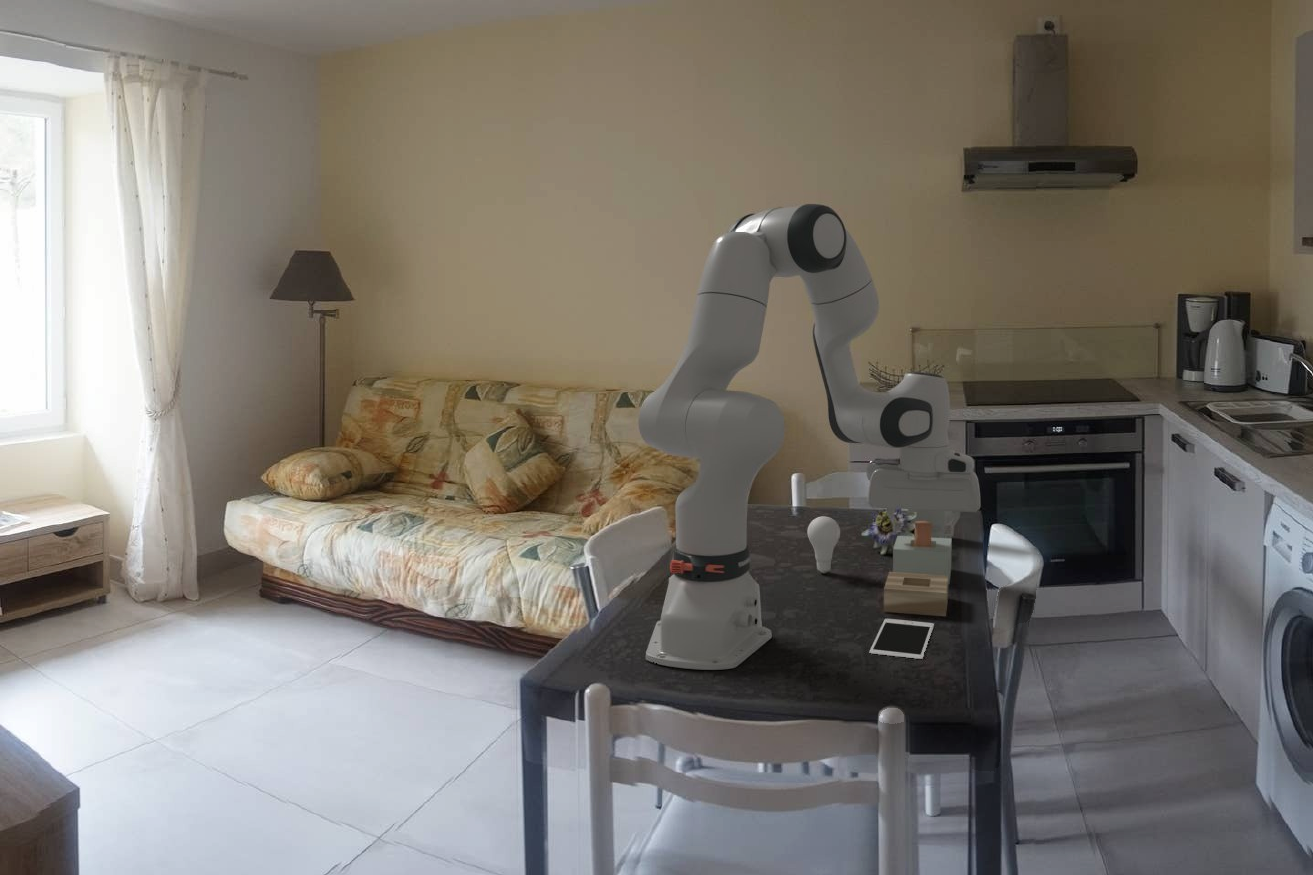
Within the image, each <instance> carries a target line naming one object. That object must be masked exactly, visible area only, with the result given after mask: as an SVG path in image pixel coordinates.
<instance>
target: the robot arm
mask: <svg viewBox="0 0 1313 875" xmlns="http://www.w3.org/2000/svg"><path fill="white" fill-rule="evenodd" d="M797 276H799V277H800V278H801V279H802V283H803V286H804V289H805V292H806V295H807V299H808V301H809V303H810V307H811V309H812V312H813V318H814V323H813V327H812V338H813V339H812V340H813V345H814V349H815V354H816V359H817V362H818V366H819V371H820V374H821V378H822V381H823V385H824V388H825V393H826V397H827V398H826V400H827V414H828V415H827V416H828V421H829V422H828V423H829V426H830V429H831V431H832V433H833V435H835V437H836V438H837V439H838V440H840V441H841V442H844V443H848V444H849V443H850V444H865V445H869V446H870V445H871V446H876V447H885V448H889V449H890V448H891V449H898V448H899V458H878V457H877V458H875V459H874V460H871V461H869V463H868V464H867V465H866V477H867V480H868V481H869V483H868V491H867V503H868V505H869V506H870V507H871V508H872V509H873V508H874V509H886V510H887V515H888V517H889V519H890V520H891V522H892V523H893V532H901V521H897V520H896V518H895V516H894V513H895V509H902V510H908V509H913V510H936V511H952V517H953V520H952V521H951V523H950V524H948V523H946V525H945V529H946V530H945V534H947V535H953V536H954V529H955V526H956V524H957V522H958V521H959V519H960V518H961V512H965V513H977V512H978V511H979V510H980V509H981V491H980V490H981V489H980V483H979V478H978V476H977V474H976V472H975V471H974V469H975V460H974V458H973V457H972V456H970V455H967V454H965V453H961V452H957V451H954V450H951V449H950V439H949V436H948V435H949V434H948V428H949V424H950V421H951V399H950V398H951V397H950V390H949V389H950V388H949V385H948V383H947V379H946V378H945V377H943V376H942V375H939V374H937V373H929V372H927V373H926V372H921V371H908V372H906V373H905V374H904V376H903V379H902V380H901V381H900V382H899V383H898V384H897V385H896V386H895V387H893V388H891V389H890V390H887V391H886V392H877V391H871V390H868V389H866V388H864V386H862V385H861V384H860V383H859V380H858V378H857V373H856V368H855V365H854V361H853V358H852V357H853V356H852V352H851V343H852V341H853V340H855V339H857V338H858V337H860V336H861V335H863V334H864V333H866V332H867V331H868V330H869V329H870V328H871V327H872V326H873V325H874V322H875V321H876V319H877V317H878V315H879V311H880V303H879V300H880V299H879V296H878V292H877V288H876V286H875V282H874V280H873V278H872V274H871V272H870V269H869V267H868V264H867V263H866V260H865V258H864V256H863V253H862V251H861V250H860V248H859V247H858V245H857V242H856V241H855V239H854V238H853V236H852V234H851V233H850V232H849V230H847V229H846V227H845V224H844V222H843V220H842V219H841V217H840V216H839V214H838V213H837V212H836V211H835V210H834V209H833V208H831V207H829V206H828V205H824V204H816V203H806V204H803V205H799V206H798V205H797V206H795V205H794V206H786V207H785V206H784V207H783V206H780V207H779V206H778V207H777V206H776V207H775V208H774V207H773V208H770V209H767V210H763V211H760V212H757V213H749V214H747V215H744V216H742V217H740V218H738V219H737V220H736V221H734V222H733V223H732V224H731V226H730V227H729V228H728V230H727V232H726V233H723V234H721V235H720V236H718V237H717V238H716V239H715V240H714V242H713V243H712V246H711V248H710V250H709V253H708V256H707V258H706V261H705V264H704V265H703V269H702V273H701V276H700V279H699V280H700V281H699V285H698V289H697V294H696V300H695V303H694V305H695V306H694V309H693V314H692V318H691V323H690V329H689V332H688V335H687V336H688V337H687V339H686V343H685V346H684V348H683V351H682V353H681V355H680V358H679V360H678V362H677V363H676V365H675V367H674V368H673V370H672V371H671V373H670V374H669V376H668V377H667V378H666V380H664V382H663V383H662V384H661V385H660V386H659V387H657V389H656V390H654V391H653V392H651V393H650V394H648V395H647V396H646V397H645V399H644V400H643V402H642V404H641V406H640V409H639V412H638V420H637V421H638V422H637V424H638V430H639V434H640V437H641V439H642V440H643V441H644V442H645V444H647V446H649V447H650V448H653V449H654V450H655V449H656V450H658V451H660V452H662V453H665V454H667V455H670V456H674V457H681V458H689V459H696V460H699V469H698V475H697V477H696V480H695V482H694V483H693V484H691V485H689V486H688V487H686V488H685V489H683V490H682V491H681V492H680V493H679V495H678V496H677V499H676V501H675V504H674V505H675V506H674V508H675V535H676V536H675V542H676V544H675V546H674V548H673V554H672V559H671V561H670V564H669V566H670V567H669V569H670V570H669V571H670V574H672V575H670V577H668V585H667V590H666V594H665V597H664V598H665V599H664V601H663V606H662V608H661V614H660V620H658V621H657V622H656V623H655V626H654V629H653V632H652V635H651V637H650V640H649V643H648V645H647V649H646V651H645V661H648V662H650V663H653V662H654V663H653V664H656V663H657V665H661V666H666V667H671V668H672V667H673V668H678V669H688V670H689V669H690V670H691V669H692V670H702V671H703V670H704V671H705V670H709V671H711V670H712V671H713V670H714V671H716V670H720V671H721V670H729V669H735V668H736V667H738V666H739V665H740V664H742V663H743V662H744V661H745V660H746V659H748V658H749V657H750V656H752V655H753V653H755V652H756V651H758V650H759V649H760V648H761V647H762V646H763V645H765V644H766V643H767V642H769V640H771V639H772V637H773V636H772V630H771V629H769V628H767V627H766V626H763V624H762V606H761V592H760V591H761V590H760V585H759V583H758V582H757V581H756V580H755V579H754V578H753V576H752V575H751V574H750V571H749V570H750V569H751V553H750V547H749V546H750V545H748V544H747V529H748V528H747V524H748V523H747V521H748V519H747V518H748V502H749V496H750V493H751V488H752V486H753V484H754V481H755V478H756V477H757V474H758V473H759V471H760V470H761V469H762V467H763V466H764V465H765V464H766V463H767V462H769V461H771V460H772V459H773V458H774V457H775V456H776V455H777V453H778V452H779V451H780V449H781V448H782V446H783V443H784V440H785V434H786V423H785V422H786V421H785V417H784V415H783V412H782V410H781V409H780V407H779V405H778V404H777V403H776V402H775V401H773V400H772V399H769V398H767V397H764V396H761V395H758V394H755V393H751V392H748V391H741V390H740V391H739V390H727V389H728V387H729V385H730V384H731V381H732V380H733V379H734V377H735V376H736V375H737V374H738V373H739V372H740V371H742V370H743V369H744V368H747V367H748V366H750V365H751V364H752V363H754V361H755V360H756V358H757V357H758V354H759V353H760V352H759V351H760V348H761V343H762V338H763V331H764V325H765V320H766V314H767V309H768V303H769V297H770V296H769V295H770V287H771V282H772V280H773V278H778V277H779V278H793V277H797Z"/></svg>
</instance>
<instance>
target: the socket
mask: <svg viewBox="0 0 1313 875" xmlns="http://www.w3.org/2000/svg"><path fill="white" fill-rule="evenodd" d="M892 572H899V573H915V574H931V575H947V576H948V585H950V582H951V572H952V538H932V537H931V547H915V537H912V536H897V539H896V542H895V545H894V548H892Z"/></svg>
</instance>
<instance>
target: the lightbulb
mask: <svg viewBox="0 0 1313 875" xmlns="http://www.w3.org/2000/svg"><path fill="white" fill-rule="evenodd" d="M806 533H807V537H808V539H809V542H810V544H811V546H812V547H813V550H814V554H815V555H814V556H815V561H816V570H817V571H819V572H820V573H822V574H826V573H828V572H829V571H831V564H832V560H833V553H834V549H835V547H836V545H837V543H838V542H839V539H840V537H841V529H840V525H839V524H838V522H837V521H836V520H835V519H833V518H831V517H829V516H825V515H823V516H818V517H815V518H814V519H813V520H811V521H810V523H809V525H808V526H807V532H806Z"/></svg>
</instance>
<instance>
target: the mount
mask: <svg viewBox="0 0 1313 875" xmlns="http://www.w3.org/2000/svg"><path fill="white" fill-rule="evenodd" d="M948 600H949V584H948V576H947V575H931V574H915V573H899V572H893V571H889V572H888V575H887V577H886V580H885V584H884V587H883V613H896V614H897V613H898V614H907V615H909V614H910V615H921V616H922V615H923V616H933V617H947V609H948Z"/></svg>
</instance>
